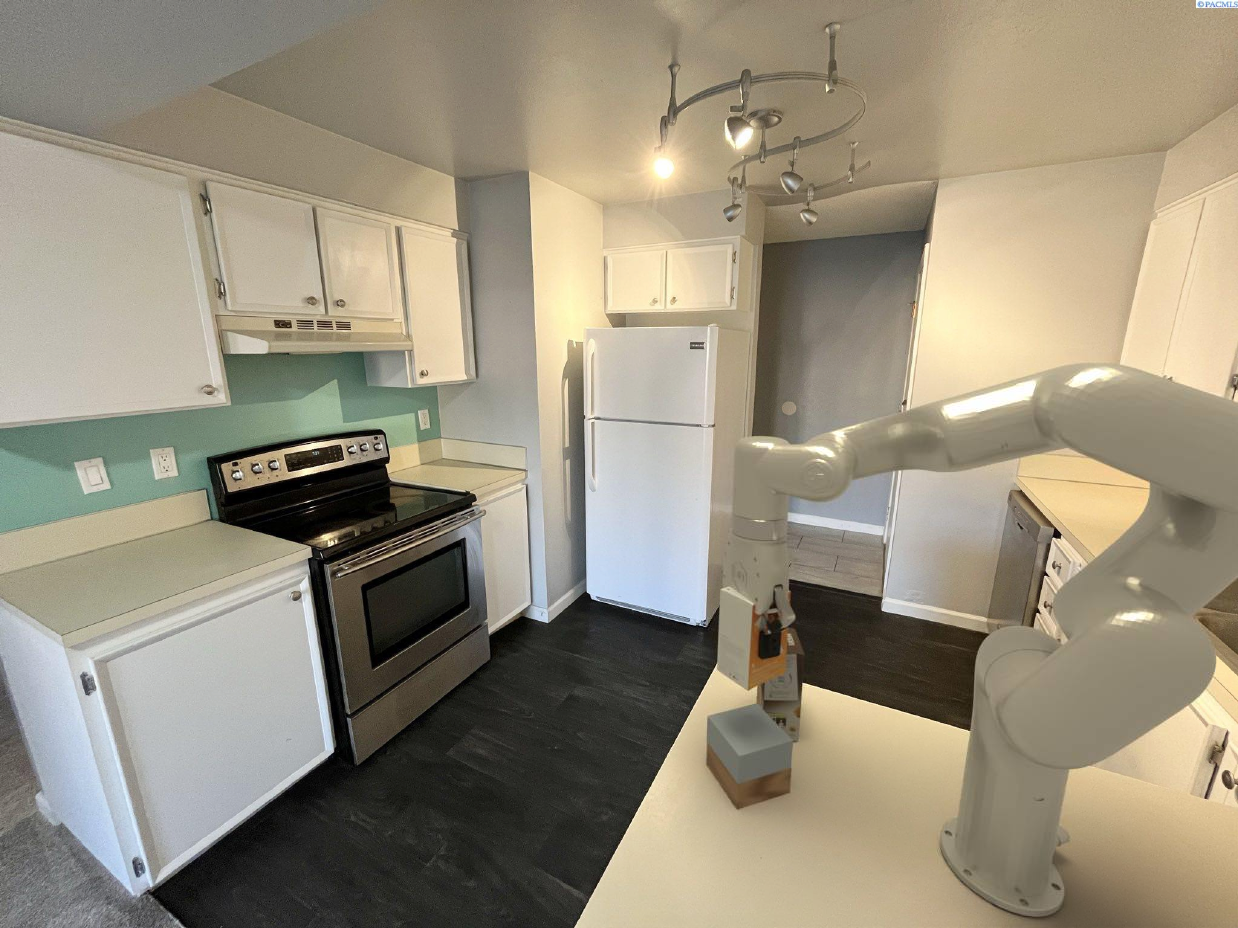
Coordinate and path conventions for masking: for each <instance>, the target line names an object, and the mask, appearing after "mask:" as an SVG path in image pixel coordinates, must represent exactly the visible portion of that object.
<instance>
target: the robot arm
mask: <svg viewBox="0 0 1238 928" xmlns="http://www.w3.org/2000/svg"><path fill="white" fill-rule="evenodd" d="M1063 449H1068V450H1072V451H1074V452H1075V453H1078V454H1080V455H1082V456H1085V457H1087V458H1089V459H1092V460H1094V461H1096V462H1099V463H1101V464H1103V465H1105V466H1108V467H1110V468H1112V469H1115V470H1118V471H1120V472H1122V473H1124V474H1127V475H1130V476H1132V477H1135V478H1138V479H1140V480H1141V481H1142V480H1143V481H1145V482H1148V483H1149V493H1148V499H1147V502H1146V505H1145V506H1144V509H1143V512H1142V513H1141V514H1140V516H1139V517H1138V518H1137V519H1136V520H1135V521H1134V523H1132V524H1131V526H1130V527H1129V528H1128V529H1126V531H1125V532H1123V533H1122V535H1120V536H1119V538H1117V539H1116V540H1115V541H1114V542H1113V543H1111V544H1110V545H1109V546H1107V548H1106V549H1105V550H1103V551H1102V552H1101V553H1100V554H1099V555H1097V556H1096V557H1095V558H1094V559H1093V560H1092V561H1090V562H1089V563H1087V564H1086V566H1084V567H1083V568H1082V569H1080V570H1079V571H1078V572H1077V573H1076V574H1074V575H1073V576H1072V577H1071V578H1070V579H1068V580H1067V581H1066V582H1065V583H1064V584H1063V585H1062V586H1061V587H1060V588H1059V589H1058V590H1057V592H1056V593H1055V595H1054V597H1053V601H1052V612H1053V614H1054V615H1053V616H1054V618H1055V620H1056V622H1057V624H1058V626H1059V627H1060V630H1061V632H1062V633H1063V635H1064V636H1065V637H1066V639H1067V641H1065V643H1063V644H1062V642H1060V641H1059V640H1058V639H1057V638H1055V637H1054V636H1052V635H1051V634H1049V633H1047V632H1045V631H1043V630H1041V629H1038V628H1035V627H1032V626H1024V625H1009V626H1004V627H1001V628H998V629H996V630H995V631H993V632H991V633H990V634H988V635H987V636H986V638H985V639H984V640H983V641H982V643H981V645H980V646H979V648H978V650H977V655H976V657H975V658H976V659H975V665H974V683H973V684H974V685H973V686H974V687H973V702H972V703H973V704H972V715H971V723H970V730H969V738H968V743H967V750H966V757H965V764H964V771H963V777H962V785H961V791H960V797H959V798H960V799H959V805H958V806H959V807H958V812H957V813H958V815H957V817H954V818H951V819H950V820H948V821H946V822H945V823H944V825H943V826H942V828H941V831H940V837H939V844H940V850H941V853H942V856H943V858H944V859H945V861H946V863H947V865H948V866H949V867H950V869H951V870H952V871H953V873H954V875H956V876H957V877H958V879H960V881H962V882H963V884H965V885H966V886H967V887H968V888H969V889H971V890H972V891H973V892H975V893H976V894H977V895H979V896H981V897H982V898H983V899H984V900H985V901H988V902H990V903H992V904H993V905H996V906H997V907H999V908H1001V909H1003V910H1006V911H1008V912H1011V913H1015V914H1019V915H1021V916H1028V917H1033V918H1034V917H1035V918H1036V917H1037V918H1039V917H1040V918H1041V917H1047V916H1050V915H1054V914H1055V913H1056V912H1057V911H1059V910H1060V908H1061V906H1062V905H1063V903H1064V897H1065V884H1064V882H1063V879H1062V876H1061V874H1060V872H1059V871H1058V869H1057V867H1056V866H1055V865H1054V864H1053V857H1054V853H1055V852H1056V848H1057V847H1061V846H1063V845H1065V844H1067V843H1068V842H1070V841H1071V837H1070V835H1069V833H1068V832H1067V830H1066V829H1065V828H1064V827H1063V826H1061V825H1060V819H1061V815H1062V808H1063V804H1064V800H1065V793H1066V787H1067V782H1068V779H1069V774H1070V770H1078V769H1083V768H1087V767H1091V766H1093V765H1096V764H1098V763H1100V762H1103V761H1105V760H1106V759H1108V758H1109V757H1112V756H1113V755H1115V754H1117V753H1119V752H1120V751H1121V750H1123V749H1125V748H1126V747H1127V746H1129V745H1130V744H1132V743H1134V742H1135V741H1137V740H1138V739H1140V738H1142V737H1143V736H1145V735H1146V734H1148V733H1149V732H1150V731H1152V730H1154V729H1155V728H1157V727H1158V726H1160V725H1161V724H1163V723H1165V722H1166V721H1168V720H1169V719H1170V718H1172V717H1173V716H1175V715H1177V714H1178V713H1180V712H1181V711H1183V710H1185V708H1186V707H1188V706H1189V705H1191V704H1192V703H1194V702H1195V701H1196V700H1197V699H1198V698H1200V697H1201V695H1202V694H1203V693H1204V692H1205V691H1206V690H1207V688H1208V687H1209V684H1210V683H1211V681H1212V680H1213V678H1214V675H1215V672H1216V667H1217V655H1216V648H1215V646H1214V644H1213V641H1212V639H1211V638H1210V636H1209V635H1208V633H1207V632H1206V630H1205V629H1204V627H1203V626H1202V625H1201V624H1200V623H1199V622H1198V621H1197V620H1196V619H1195V618H1194V616H1195V615H1196V614H1197V613H1198V612H1199V611H1201V610H1202V609H1203V608H1204V607H1206V605H1207V604H1209V603H1211V601H1212V600H1214V599H1215V598H1216V597H1217V596H1218V595H1219V594H1221V593H1222V592H1223V591H1224V590H1225V589H1227V588H1228V587H1229V586H1230V585H1231V584H1233V582H1235V581H1236V580H1237V579H1238V401H1235V400H1232V399H1229V398H1227V397H1223V396H1219V395H1217V394H1214V393H1210V392H1207V391H1203V390H1201V389H1198V388H1194V387H1192V386H1188V385H1185V384H1183V383H1180V382H1177V381H1175V380H1174V381H1173V380H1172V379H1168V378H1165V377H1162V376H1159V375H1157V374H1154V373H1150V372H1148V371H1146V370H1145V371H1144V370H1142V369H1139V368H1135V367H1132V366H1128V365H1125V364H1120V363H1112V362H1111V363H1107V362H1104V363H1101V362H1082V363H1081V362H1080V363H1072V364H1066V365H1062V366H1058V367H1054V368H1050V369H1046V370H1042V371H1040V372H1036V373H1033V374H1029V375H1025V376H1022V377H1019V378H1015V379H1011V380H1009V381H1005V382H1001V383H997V384H995V385H991V386H988V387H983V388H979V389H976V390H973V391H970V392H966V393H962V394H959V395H955V396H952V397H946V398H943V399H939V400H938V401H933V402H930V403H926V404H923V405H919V406H916V407H913V408H910V409H906V410H905V411H901V412H897V413H893V414H889V415H886V416H881V417H878V418H875V419H871V420H866V421H862V422H859V423H855V424H852V425H849V426H845V427H842V428H838V429H835V430H831V431H828V432H824V433H822V434H819V435H815V436H814V437H811V438H810V439H809V440H808V441H806V442H805V443H801V444H798V443H797V444H795V443H794V444H791V443H790V442H788V440H786V439H785V438H782V437H776V436H766V435H754V436H745V437H741V438H740V439H738V441H737V442H736V444H735V446H734V451H733V472H732V473H733V475H732V497H731V499H732V501H731V519H730V520H731V522H730V528H729V531H728V535H727V539H726V544H725V551H724V557H723V560H724V561H723V569H722V571H721V572H722V589H723V588H726V587H731V588H733V589H734V590H736V591H737V592H738V593H740V594H741V595H742V596H744V597H745V598H746V599H748V600H749V601H750V602H752V603H753V604H754V605H755V607H754V613H755V614H756V615H761V624H762V628H763V631H760V635H759V652H758V656H759V658H760V659H762V660H763V659H768V658H772V657H777V656H779V655H780V648H781V633H782V632H783V631H785V629H786V628H787V627H788V628H790V625H791V624H792V623H793V622H794V621H795V620H796V614H795V612H794V610H793V608H792V607H791V603H790V604H789V602H788V591H790V590H789V589H790V588H789V586H790V571H789V570H790V567H789V566H790V565H789V552H788V544H787V543H788V542H787V541H786V540H787V535H788V521H789V520H788V519H789V516H788V515H789V502H790V501H789V499H790V497H792V498H795V499H799V500H803V501H804V500H805V501H809V502H814V503H827V502H832V501H835V500H836V499H839V498H840V497H841V496H843V494H845V493H846V491H847V490H848V488H849V486H850V485H851V483H852V481H856V480H859V479H864V478H869V477H873V476H877V475H881V474H886V473H892V472H900V471H914V470H916V471H918V470H919V471H928V472H935V473H957V472H965V471H969V470H973V469H977V468H983V467H987V466H990V465H995V464H997V463H998V464H1000V463H1003V462H1009V461H1013V460H1017V459H1020V458H1025V457H1030V456H1031V457H1032V456H1035V455H1041V454H1045V453H1050V452H1054V451H1059V450H1063ZM771 603H774V608H771V609H769V607H770V605H771ZM771 613H773V614H774V619H775V620H774V621H772V622H771V623H769V619H768V615H767V614H771Z"/></svg>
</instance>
